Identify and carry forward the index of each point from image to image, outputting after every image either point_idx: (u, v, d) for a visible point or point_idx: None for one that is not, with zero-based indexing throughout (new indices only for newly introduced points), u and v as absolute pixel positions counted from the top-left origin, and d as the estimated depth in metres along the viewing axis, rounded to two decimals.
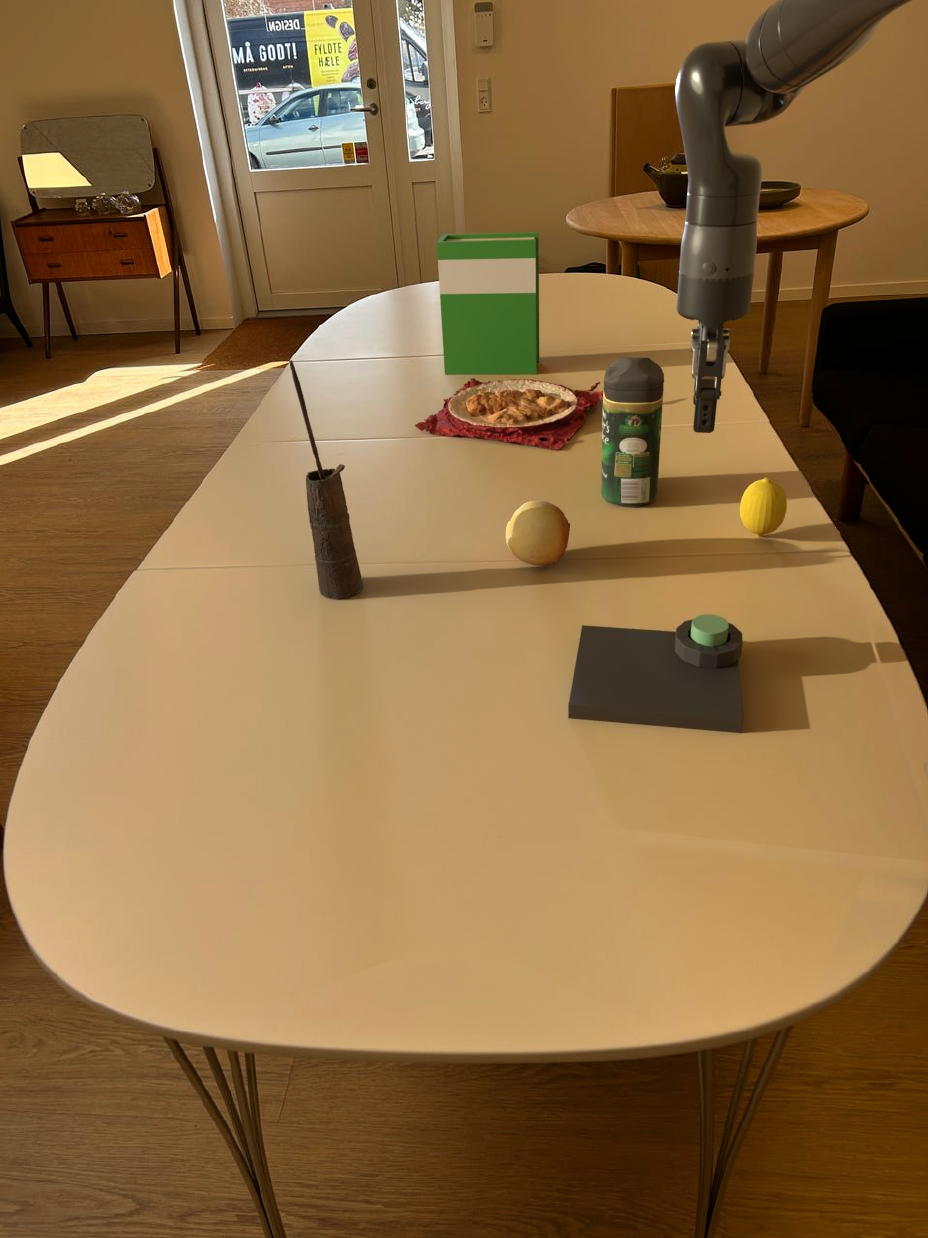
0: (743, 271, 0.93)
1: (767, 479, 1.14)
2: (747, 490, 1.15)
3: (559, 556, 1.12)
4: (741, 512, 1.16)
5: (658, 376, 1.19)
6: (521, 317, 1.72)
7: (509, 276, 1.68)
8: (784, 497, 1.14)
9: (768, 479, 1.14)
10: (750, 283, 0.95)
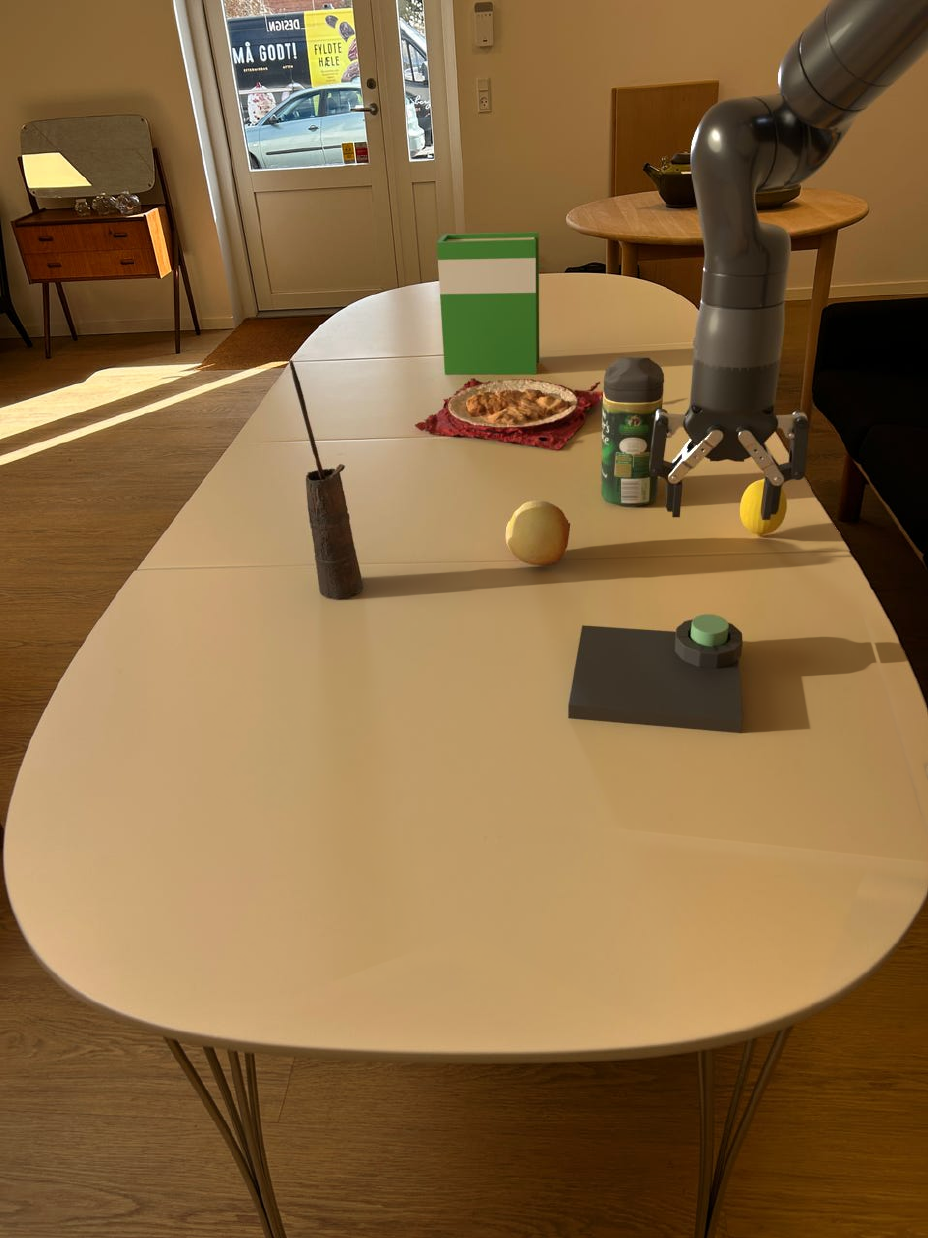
0: (707, 358, 0.81)
1: None
2: (747, 490, 1.15)
3: (559, 556, 1.12)
4: (741, 512, 1.16)
5: (658, 376, 1.19)
6: (521, 317, 1.72)
7: (509, 276, 1.68)
8: (784, 497, 1.14)
9: None
10: (721, 378, 0.81)
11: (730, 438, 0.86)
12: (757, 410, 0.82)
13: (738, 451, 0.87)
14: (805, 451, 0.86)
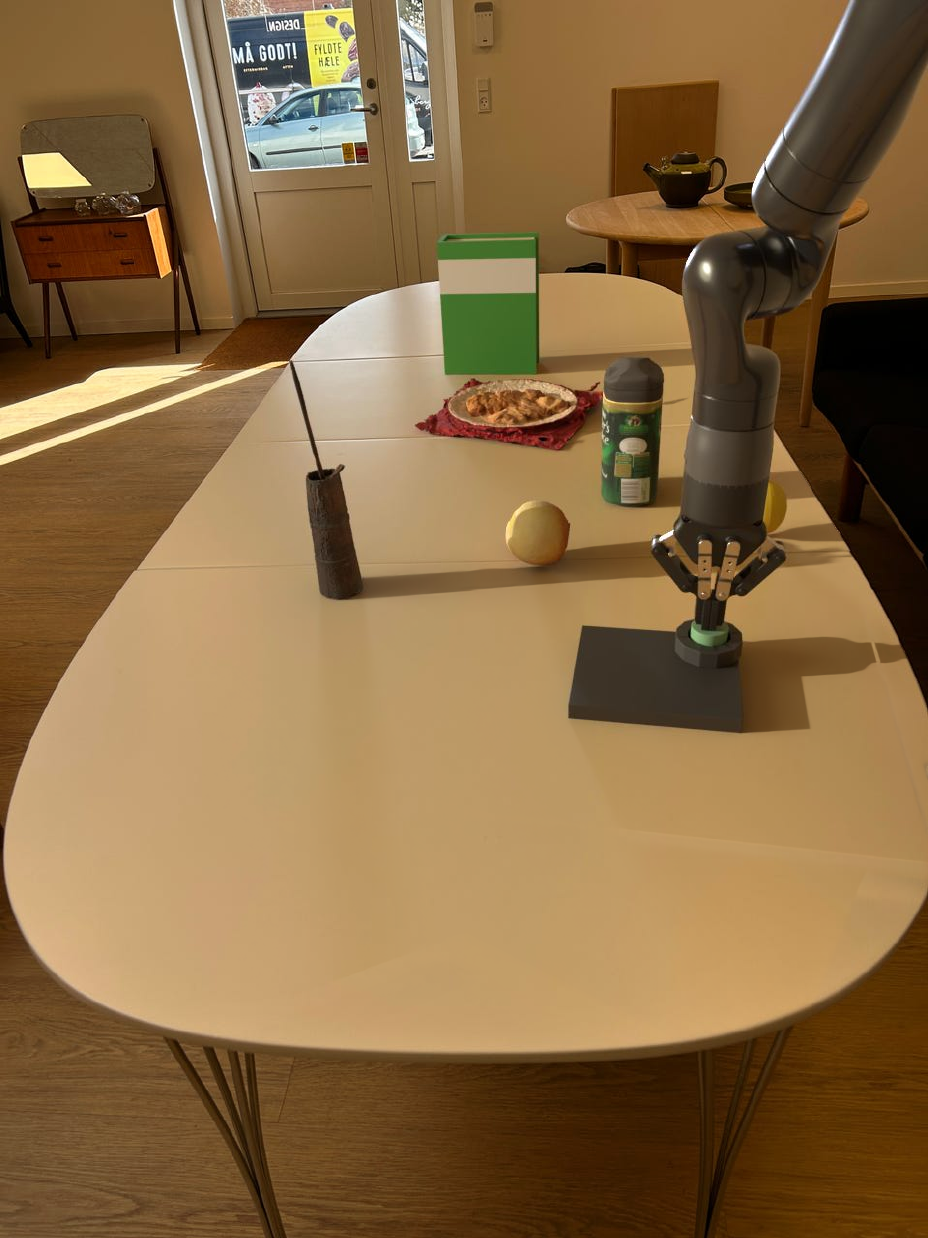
0: (696, 473, 0.82)
1: None
2: None
3: (559, 556, 1.12)
4: None
5: (658, 376, 1.19)
6: (521, 317, 1.72)
7: (509, 276, 1.68)
8: (784, 497, 1.14)
9: None
10: (710, 494, 0.82)
11: (719, 547, 0.87)
12: (745, 525, 0.83)
13: None
14: (762, 579, 0.88)
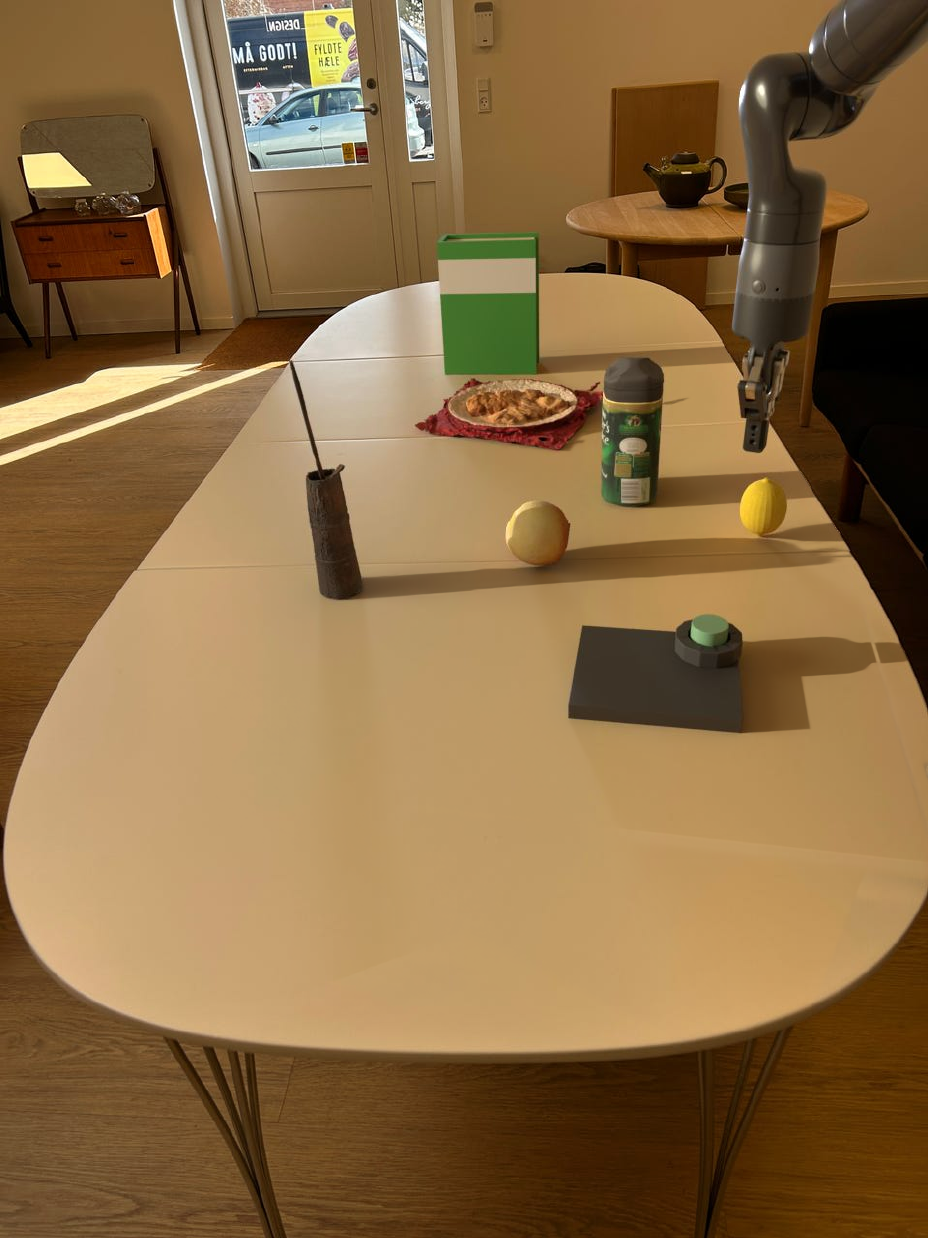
0: (796, 292, 0.89)
1: (767, 479, 1.14)
2: (747, 490, 1.15)
3: (559, 556, 1.12)
4: (741, 512, 1.16)
5: (658, 376, 1.19)
6: (521, 317, 1.72)
7: (509, 276, 1.68)
8: (784, 497, 1.14)
9: (768, 479, 1.14)
10: (806, 305, 0.91)
11: None
12: None
13: None
14: None
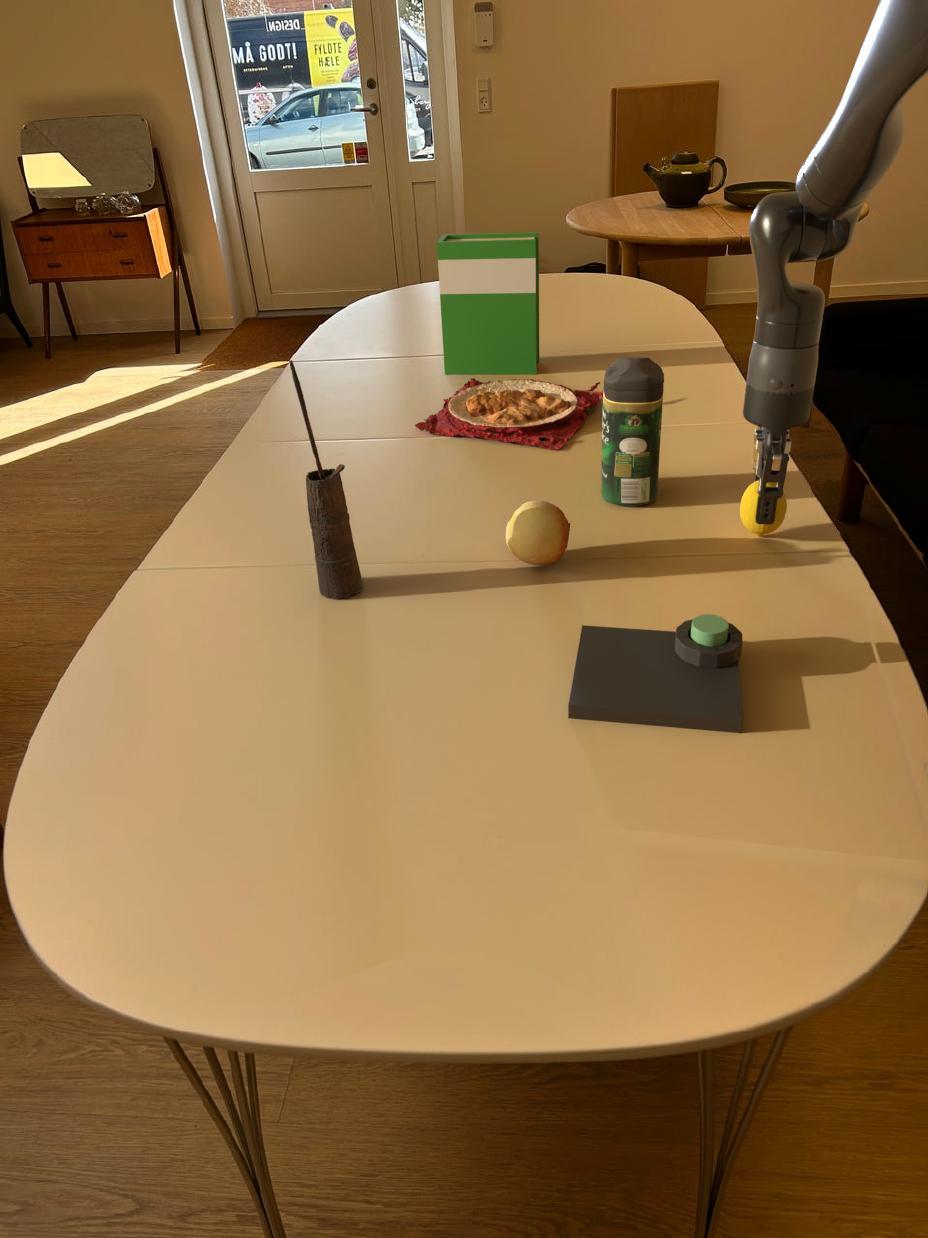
0: (806, 386, 1.05)
1: None
2: (747, 490, 1.15)
3: (559, 556, 1.12)
4: (741, 512, 1.16)
5: (658, 376, 1.19)
6: (521, 317, 1.72)
7: (509, 276, 1.68)
8: (784, 497, 1.14)
9: None
10: (811, 395, 1.06)
11: None
12: None
13: None
14: None
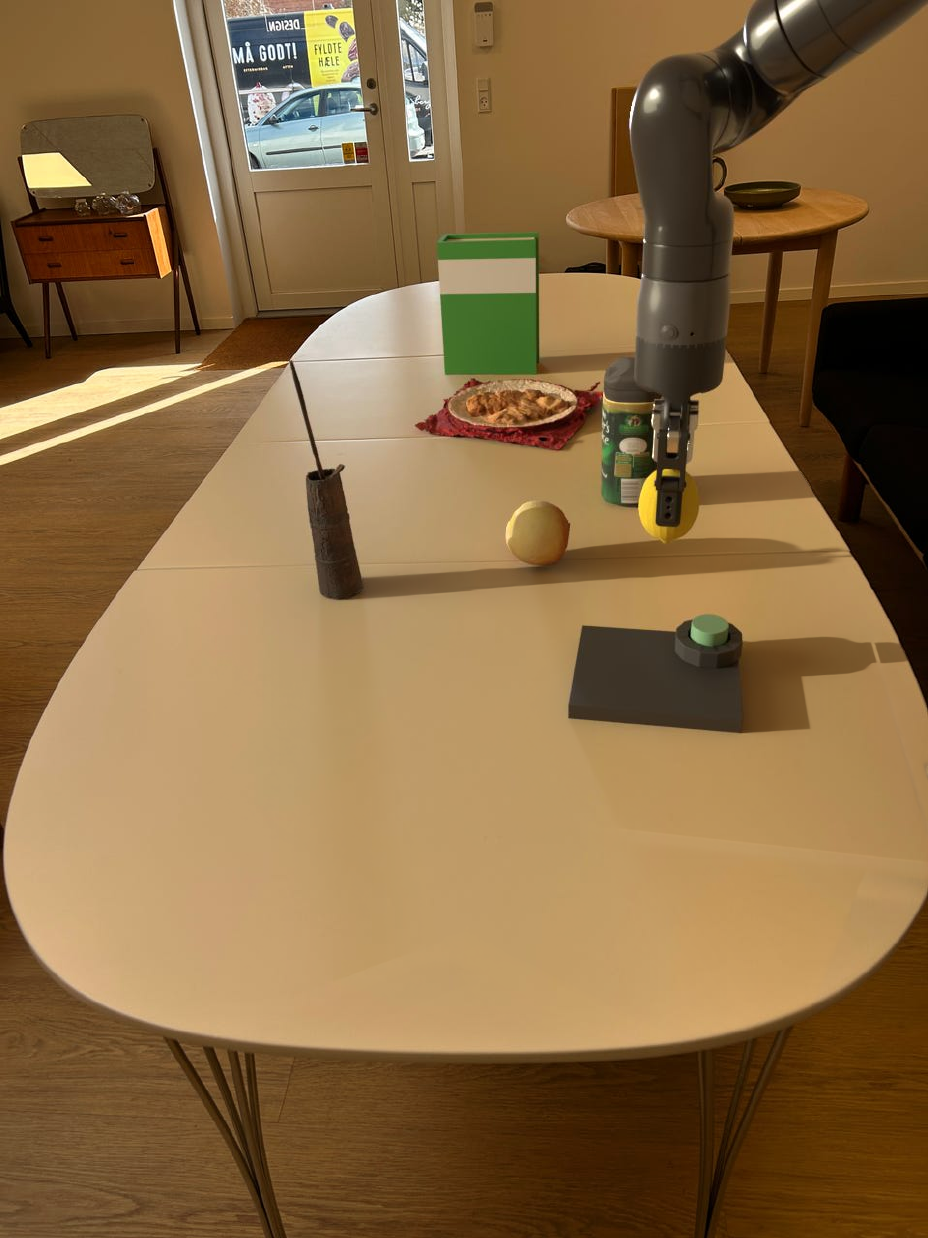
0: (712, 336, 0.76)
1: None
2: (646, 481, 0.86)
3: (559, 556, 1.12)
4: (639, 510, 0.87)
5: None
6: (521, 317, 1.72)
7: (509, 276, 1.68)
8: (694, 490, 0.85)
9: None
10: (722, 349, 0.77)
11: None
12: None
13: (687, 427, 0.84)
14: None
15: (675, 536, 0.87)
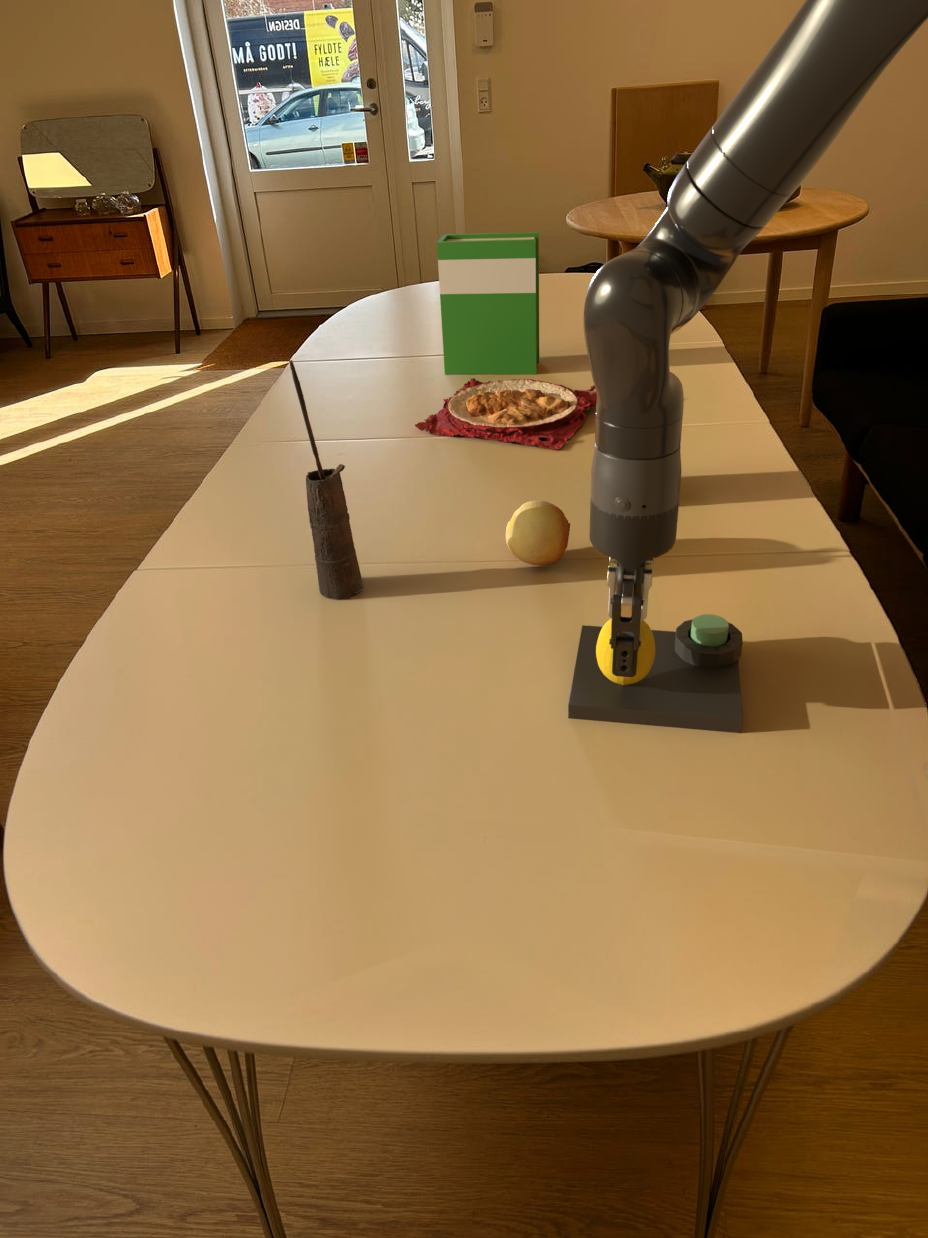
0: (664, 507, 0.77)
1: None
2: (603, 629, 0.87)
3: (559, 556, 1.12)
4: (597, 656, 0.89)
5: None
6: (521, 317, 1.72)
7: (509, 276, 1.68)
8: (650, 640, 0.86)
9: None
10: (674, 516, 0.79)
11: None
12: None
13: None
14: None
15: (632, 682, 0.88)
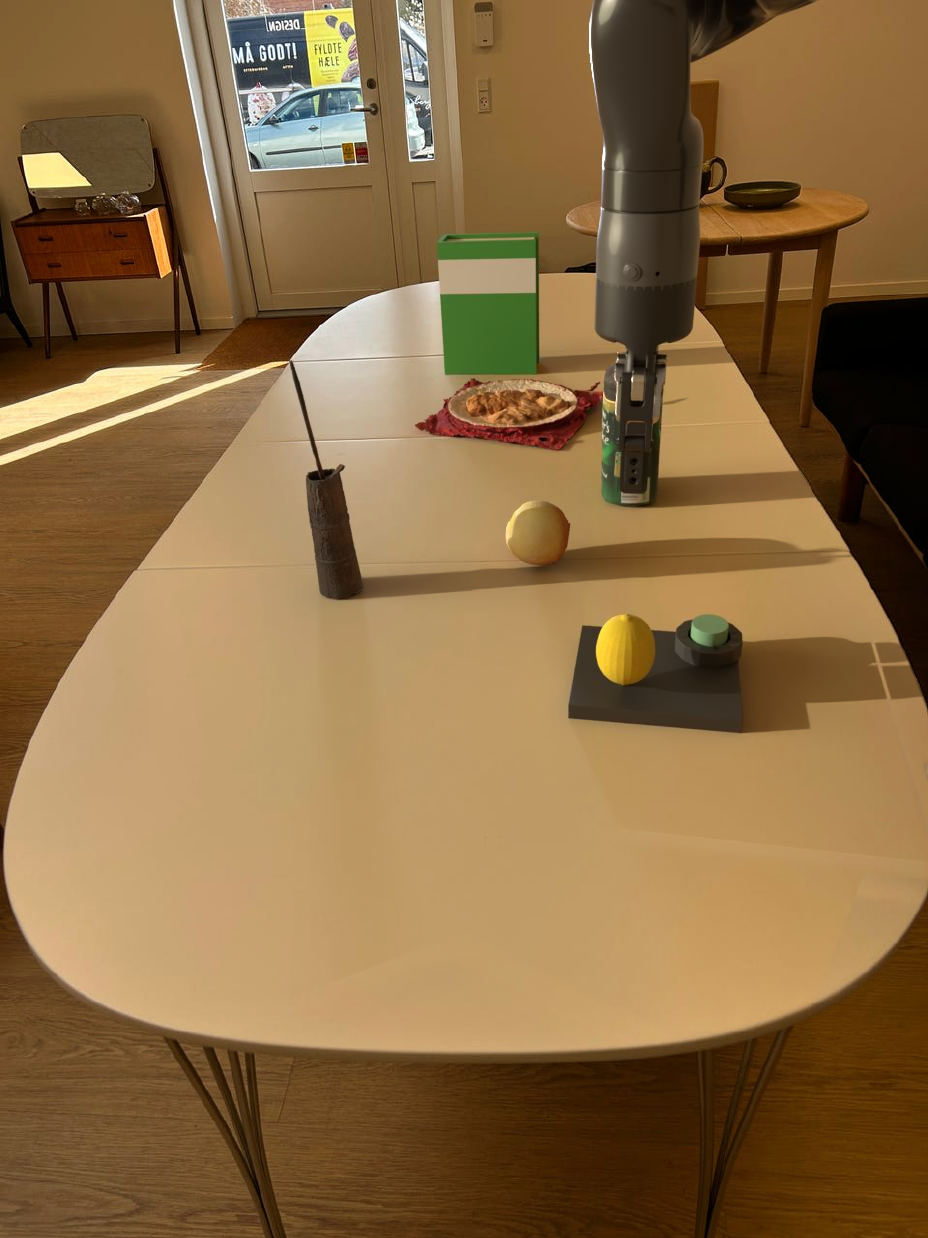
0: (680, 276, 0.67)
1: (627, 616, 0.86)
2: (603, 629, 0.87)
3: (559, 556, 1.12)
4: (597, 656, 0.89)
5: None
6: (521, 317, 1.72)
7: (509, 276, 1.68)
8: (650, 640, 0.86)
9: (628, 616, 0.86)
10: (692, 293, 0.69)
11: None
12: None
13: None
14: None
15: (632, 682, 0.88)
